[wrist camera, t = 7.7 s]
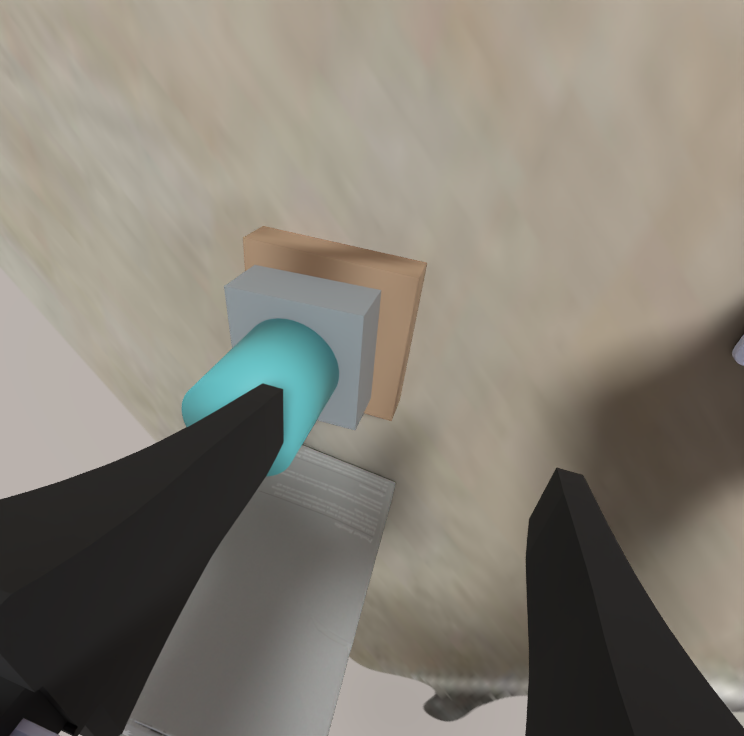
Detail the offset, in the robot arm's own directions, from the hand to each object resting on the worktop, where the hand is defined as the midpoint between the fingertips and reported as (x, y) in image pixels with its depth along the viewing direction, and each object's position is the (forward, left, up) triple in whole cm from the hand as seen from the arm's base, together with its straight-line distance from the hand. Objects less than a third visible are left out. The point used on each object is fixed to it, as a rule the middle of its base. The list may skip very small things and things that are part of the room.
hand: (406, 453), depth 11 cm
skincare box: (+5, +15, -11) cm, 19 cm away
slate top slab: (+6, +3, -9) cm, 11 cm away
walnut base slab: (+6, +3, -11) cm, 13 cm away
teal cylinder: (+6, +3, -6) cm, 9 cm away
